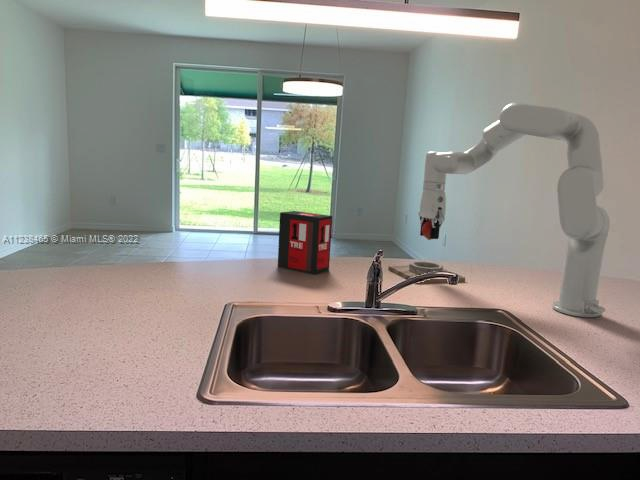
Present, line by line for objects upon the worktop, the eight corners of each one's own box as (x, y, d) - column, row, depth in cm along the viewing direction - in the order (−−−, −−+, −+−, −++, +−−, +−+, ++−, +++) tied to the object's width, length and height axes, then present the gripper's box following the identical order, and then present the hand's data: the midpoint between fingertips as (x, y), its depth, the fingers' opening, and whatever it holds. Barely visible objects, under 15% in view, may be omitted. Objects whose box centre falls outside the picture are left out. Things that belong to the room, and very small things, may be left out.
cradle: (464, 281, 178) (466, 270, 177) (415, 283, 171) (416, 272, 170) (433, 268, 196) (434, 258, 195) (388, 269, 189) (389, 259, 188)
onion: (417, 238, 182) (419, 216, 181) (430, 238, 185) (432, 216, 184) (427, 241, 177) (429, 219, 176) (440, 241, 180) (442, 219, 178)
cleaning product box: (277, 267, 183) (280, 212, 180) (291, 263, 191) (294, 210, 187) (315, 274, 175) (319, 217, 171) (328, 270, 182) (332, 215, 179)
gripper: (457, 189, 171) (451, 241, 174) (429, 185, 187) (425, 233, 190) (438, 188, 169) (433, 241, 172) (412, 184, 185) (407, 233, 188)
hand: (429, 236), depth 181 cm, fingers closed on onion, 5 cm apart
